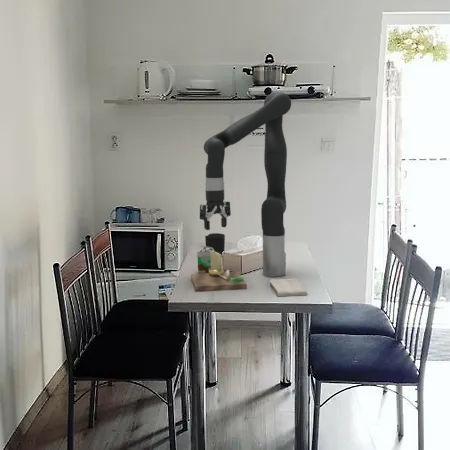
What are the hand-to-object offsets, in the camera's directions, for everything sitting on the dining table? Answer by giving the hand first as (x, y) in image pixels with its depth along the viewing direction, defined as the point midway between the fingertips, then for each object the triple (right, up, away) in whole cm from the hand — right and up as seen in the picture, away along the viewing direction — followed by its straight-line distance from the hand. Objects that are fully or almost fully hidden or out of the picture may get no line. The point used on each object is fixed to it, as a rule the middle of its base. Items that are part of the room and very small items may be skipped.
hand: (215, 228), depth 248 cm
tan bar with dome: (+2, -19, 0) cm, 20 cm away
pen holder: (-1, -14, +47) cm, 49 cm away
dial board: (+1, -22, -2) cm, 22 cm away
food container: (-4, -19, +16) cm, 25 cm away
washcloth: (+28, -24, -11) cm, 39 cm away
